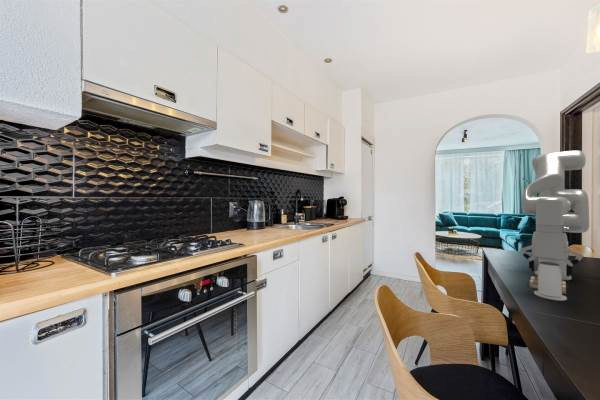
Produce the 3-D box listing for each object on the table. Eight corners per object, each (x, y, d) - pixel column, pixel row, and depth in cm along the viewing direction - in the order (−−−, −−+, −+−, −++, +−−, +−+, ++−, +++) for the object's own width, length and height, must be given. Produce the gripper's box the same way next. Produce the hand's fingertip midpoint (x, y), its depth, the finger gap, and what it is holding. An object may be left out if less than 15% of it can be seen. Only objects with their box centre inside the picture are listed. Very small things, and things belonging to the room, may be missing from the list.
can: (566, 298, 92) (566, 266, 93) (546, 297, 94) (545, 265, 94) (553, 292, 99) (552, 261, 99) (534, 290, 100) (533, 261, 100)
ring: (531, 281, 113) (531, 276, 113) (565, 287, 106) (565, 281, 106) (529, 287, 106) (529, 281, 106) (565, 293, 98) (565, 287, 98)
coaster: (534, 290, 103) (534, 288, 103) (566, 296, 96) (566, 294, 96) (533, 296, 96) (533, 294, 96) (567, 302, 90) (567, 301, 90)
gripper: (582, 230, 93) (582, 275, 93) (520, 226, 105) (521, 266, 106) (583, 232, 88) (583, 280, 88) (518, 228, 100) (519, 270, 101)
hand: (549, 273), depth 97 cm, fingers open, 9 cm apart
